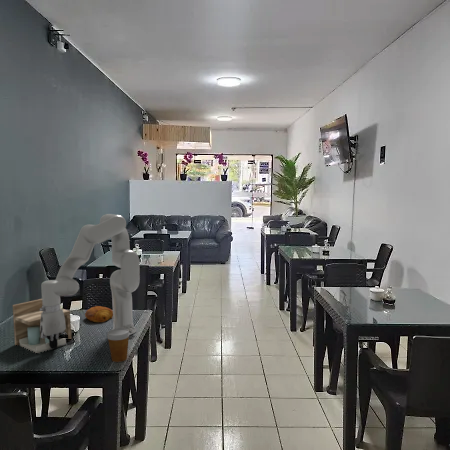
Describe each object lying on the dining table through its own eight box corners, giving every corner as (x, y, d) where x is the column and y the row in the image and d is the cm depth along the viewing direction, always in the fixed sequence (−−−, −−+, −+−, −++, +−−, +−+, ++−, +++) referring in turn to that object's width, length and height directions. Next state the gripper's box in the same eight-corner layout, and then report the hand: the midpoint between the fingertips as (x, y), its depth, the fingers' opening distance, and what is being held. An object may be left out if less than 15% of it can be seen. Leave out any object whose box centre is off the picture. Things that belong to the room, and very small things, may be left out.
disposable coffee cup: (110, 355, 186) (108, 328, 185) (132, 354, 187) (131, 327, 186) (105, 364, 177) (104, 336, 175) (129, 363, 177) (128, 335, 176)
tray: (66, 344, 200) (65, 327, 199) (37, 354, 189) (36, 335, 188) (48, 337, 210) (47, 320, 209) (19, 346, 199) (18, 328, 198)
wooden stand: (71, 339, 206) (69, 300, 204) (30, 352, 191) (28, 310, 189) (55, 333, 216) (53, 296, 214) (15, 344, 200) (12, 305, 198)
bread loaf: (92, 328, 228) (92, 314, 226) (81, 317, 240) (81, 304, 238) (117, 322, 237) (117, 308, 235) (106, 312, 249) (106, 299, 247)
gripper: (39, 313, 183) (42, 355, 185) (71, 305, 195) (73, 344, 197) (31, 310, 188) (33, 351, 190) (62, 303, 200) (64, 341, 201)
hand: (53, 347), depth 193 cm, fingers closed
